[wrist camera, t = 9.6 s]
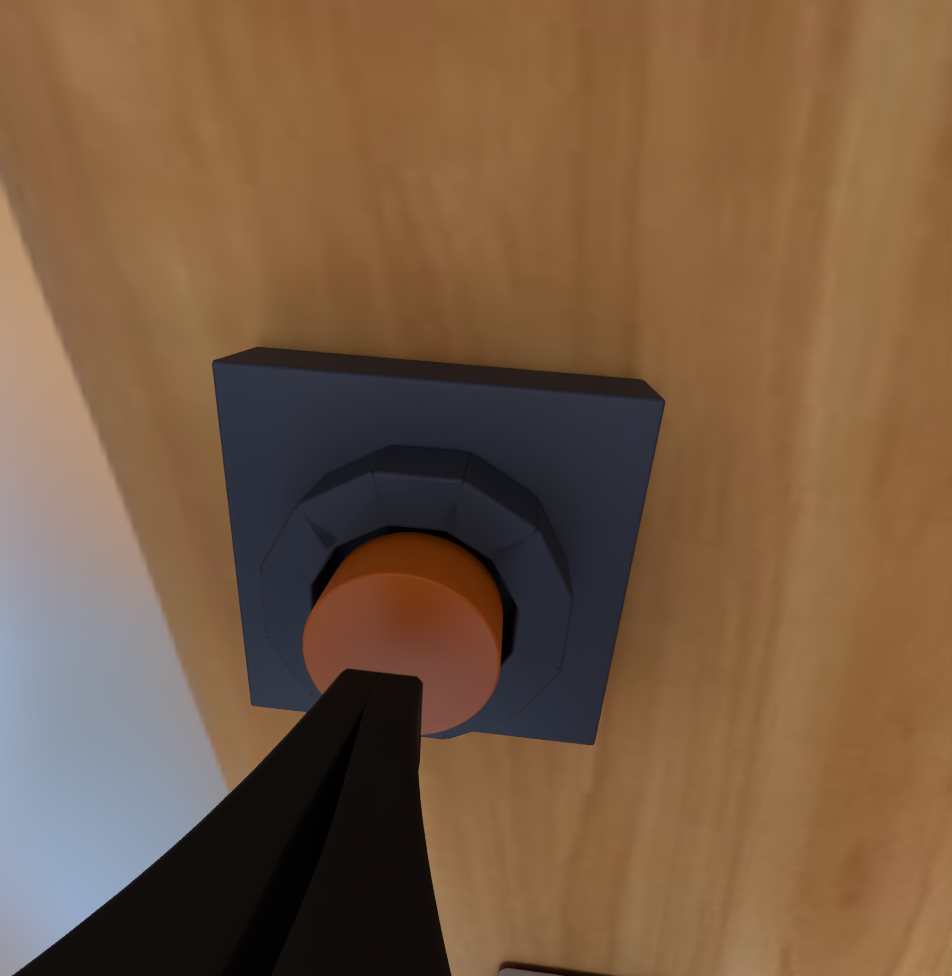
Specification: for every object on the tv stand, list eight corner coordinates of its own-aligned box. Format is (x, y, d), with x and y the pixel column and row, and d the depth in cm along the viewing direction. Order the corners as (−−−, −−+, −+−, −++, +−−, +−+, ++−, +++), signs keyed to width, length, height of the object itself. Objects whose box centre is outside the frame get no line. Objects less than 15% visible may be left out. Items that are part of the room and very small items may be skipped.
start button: (495, 687, 13) (491, 746, 11) (332, 668, 13) (306, 725, 12) (511, 540, 12) (509, 585, 10) (327, 522, 12) (295, 563, 10)
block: (586, 691, 17) (603, 805, 14) (281, 656, 18) (217, 758, 14) (645, 379, 14) (690, 422, 10) (255, 346, 14) (160, 375, 10)
